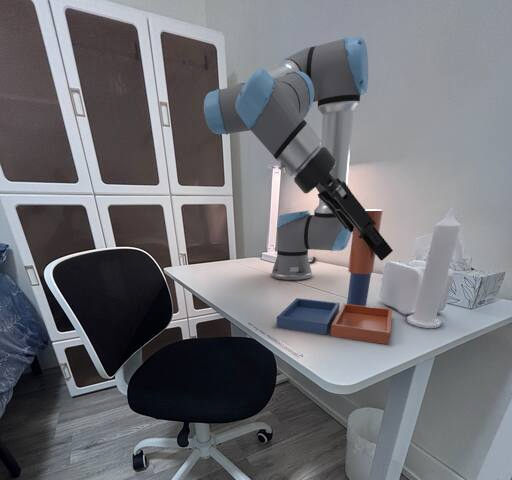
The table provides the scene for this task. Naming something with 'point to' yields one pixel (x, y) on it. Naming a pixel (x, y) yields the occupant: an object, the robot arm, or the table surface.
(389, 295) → the cable organizer
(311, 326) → the blue tray
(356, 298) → the blue pillar
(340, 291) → the table surface
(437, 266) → the candle
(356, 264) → the terracotta pillar
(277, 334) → the table surface
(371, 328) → the terracotta tray
